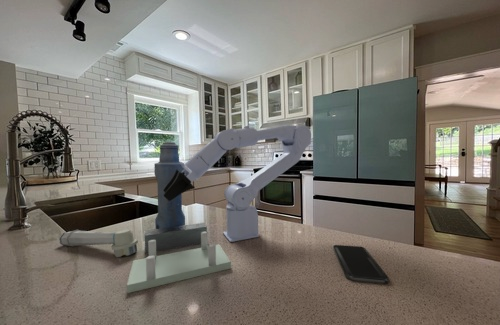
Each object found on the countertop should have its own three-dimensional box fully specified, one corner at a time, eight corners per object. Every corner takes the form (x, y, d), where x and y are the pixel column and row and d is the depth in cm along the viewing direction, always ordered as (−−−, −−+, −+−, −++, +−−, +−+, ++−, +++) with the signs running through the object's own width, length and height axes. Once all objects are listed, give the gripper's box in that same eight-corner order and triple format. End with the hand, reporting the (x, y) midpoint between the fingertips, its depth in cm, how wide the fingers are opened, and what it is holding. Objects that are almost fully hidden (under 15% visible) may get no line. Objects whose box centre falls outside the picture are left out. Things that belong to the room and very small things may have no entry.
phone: (347, 277, 41) (332, 244, 56) (347, 282, 41) (332, 248, 56) (391, 281, 39) (364, 246, 54) (391, 287, 39) (364, 251, 54)
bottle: (157, 225, 76) (154, 143, 75) (185, 222, 79) (183, 143, 78) (153, 234, 67) (150, 141, 66) (185, 230, 70) (183, 141, 69)
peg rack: (219, 249, 55) (218, 229, 55) (231, 268, 46) (230, 244, 46) (133, 266, 47) (132, 242, 47) (127, 293, 38) (125, 264, 38)
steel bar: (204, 238, 64) (204, 222, 63) (207, 243, 60) (206, 226, 60) (146, 248, 57) (145, 230, 57) (145, 254, 54) (144, 235, 54)
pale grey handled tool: (76, 228, 63) (139, 223, 56) (79, 249, 63) (143, 248, 56) (55, 234, 58) (122, 230, 51) (58, 258, 58) (126, 257, 51)
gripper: (189, 151, 66) (155, 181, 62) (196, 150, 52) (153, 189, 49) (205, 167, 68) (173, 197, 64) (215, 170, 54) (175, 209, 51)
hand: (166, 195), depth 57 cm, fingers open, 7 cm apart
